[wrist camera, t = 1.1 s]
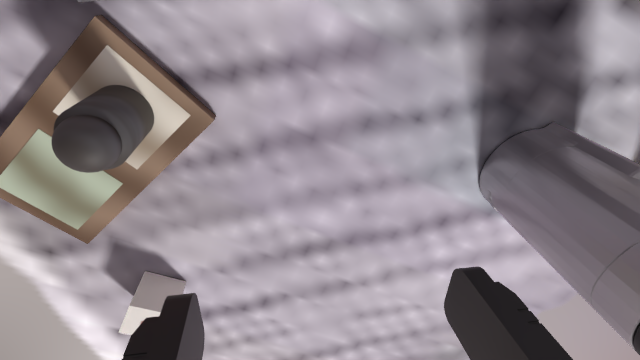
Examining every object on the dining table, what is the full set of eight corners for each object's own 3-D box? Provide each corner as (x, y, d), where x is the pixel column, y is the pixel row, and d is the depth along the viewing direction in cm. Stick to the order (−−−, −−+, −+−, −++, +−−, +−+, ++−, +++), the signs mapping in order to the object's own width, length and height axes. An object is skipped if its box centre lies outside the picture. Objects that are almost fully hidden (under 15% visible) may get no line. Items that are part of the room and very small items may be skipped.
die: (144, 270, 35) (129, 306, 31) (186, 281, 36) (176, 316, 32) (134, 297, 37) (118, 333, 33) (174, 306, 38) (163, 342, 34)
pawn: (113, 72, 24) (55, 104, 17) (166, 114, 26) (131, 157, 19) (79, 112, 25) (13, 156, 18) (132, 150, 27) (89, 201, 20)
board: (101, 14, 23) (94, 16, 22) (216, 115, 27) (214, 120, 26) (-24, 173, 27) (-34, 180, 26) (92, 237, 32) (87, 244, 31)
